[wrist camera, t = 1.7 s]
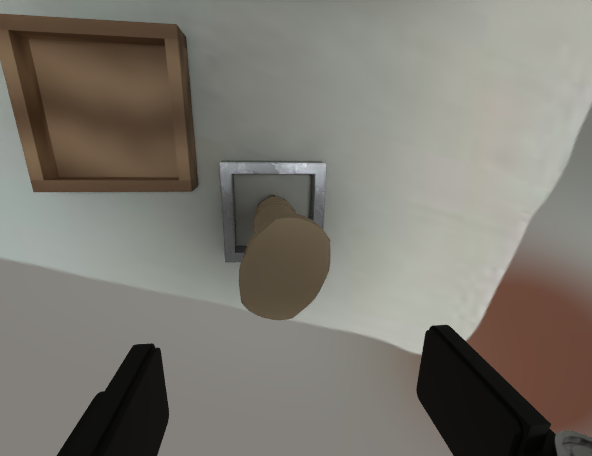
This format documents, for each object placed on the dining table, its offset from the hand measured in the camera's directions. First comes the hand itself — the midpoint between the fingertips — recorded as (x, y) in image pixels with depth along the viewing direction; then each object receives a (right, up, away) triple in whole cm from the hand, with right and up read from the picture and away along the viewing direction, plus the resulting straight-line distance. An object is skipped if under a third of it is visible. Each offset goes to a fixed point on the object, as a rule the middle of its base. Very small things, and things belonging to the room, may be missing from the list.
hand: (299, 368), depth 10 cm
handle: (-2, +7, +21) cm, 22 cm away
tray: (-16, +15, +16) cm, 28 cm away
